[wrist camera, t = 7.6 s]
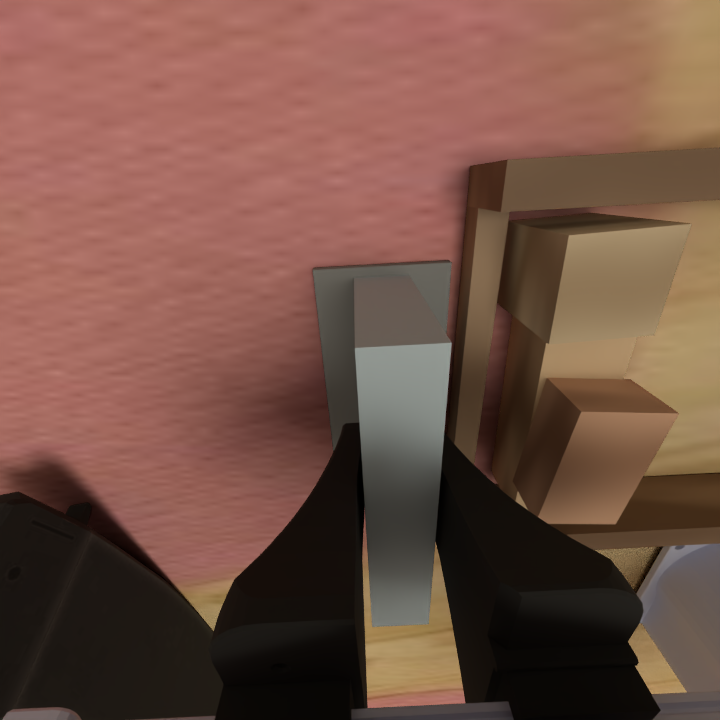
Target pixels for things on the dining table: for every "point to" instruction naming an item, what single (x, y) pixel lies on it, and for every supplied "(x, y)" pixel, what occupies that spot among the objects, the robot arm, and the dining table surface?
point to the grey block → (400, 441)
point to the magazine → (93, 624)
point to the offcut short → (589, 275)
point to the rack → (479, 299)
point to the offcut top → (589, 448)
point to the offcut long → (526, 382)
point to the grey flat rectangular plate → (340, 327)
